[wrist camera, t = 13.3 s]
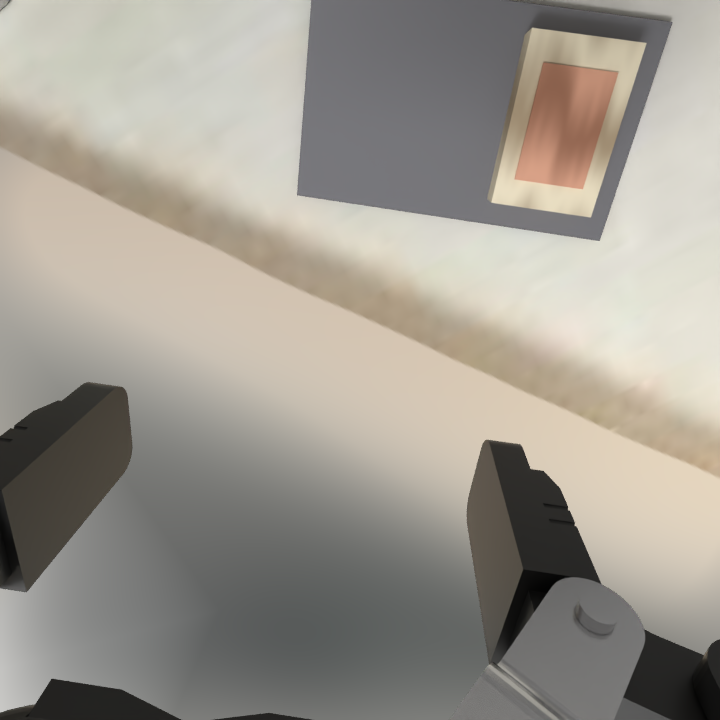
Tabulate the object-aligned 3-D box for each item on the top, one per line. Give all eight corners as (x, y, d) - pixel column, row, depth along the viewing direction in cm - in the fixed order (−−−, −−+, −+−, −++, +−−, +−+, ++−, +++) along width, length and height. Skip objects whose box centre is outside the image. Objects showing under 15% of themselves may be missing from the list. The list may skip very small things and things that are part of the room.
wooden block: (532, 27, 26) (647, 42, 26) (525, 34, 28) (632, 48, 28) (491, 203, 30) (591, 217, 30) (487, 198, 32) (580, 212, 32)
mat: (299, 194, 34) (297, 195, 33) (315, -23, 29) (313, -26, 28) (596, 239, 33) (599, 240, 32) (667, 24, 28) (672, 22, 27)
